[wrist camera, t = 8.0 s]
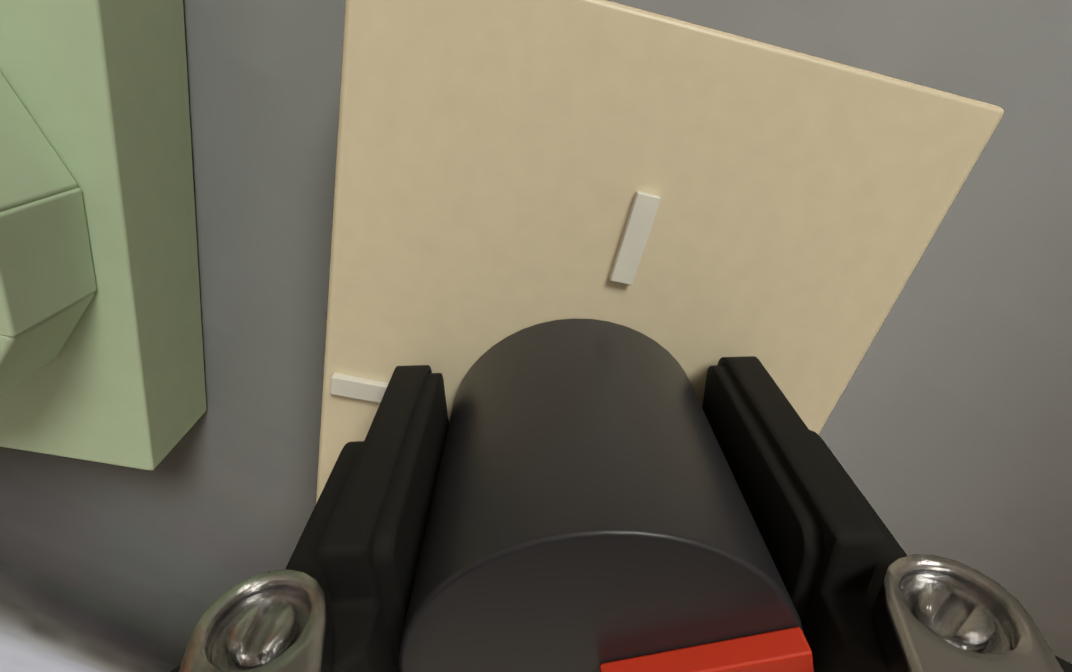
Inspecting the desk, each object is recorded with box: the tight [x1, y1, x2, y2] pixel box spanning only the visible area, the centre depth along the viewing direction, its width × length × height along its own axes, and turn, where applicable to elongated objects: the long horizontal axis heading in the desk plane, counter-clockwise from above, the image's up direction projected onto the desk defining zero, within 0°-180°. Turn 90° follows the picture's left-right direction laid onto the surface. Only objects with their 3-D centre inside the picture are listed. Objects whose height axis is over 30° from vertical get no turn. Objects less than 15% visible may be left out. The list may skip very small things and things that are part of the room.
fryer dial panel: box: [316, 0, 1004, 503], centre depth 11 cm, size 13×9×3 cm
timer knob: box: [399, 318, 814, 672], centre depth 8 cm, size 4×4×5 cm
